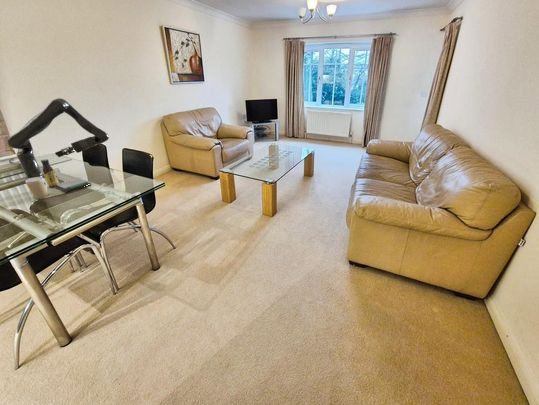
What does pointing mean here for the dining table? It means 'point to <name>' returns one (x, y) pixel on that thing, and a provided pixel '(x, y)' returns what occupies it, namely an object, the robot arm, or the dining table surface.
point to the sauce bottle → (49, 174)
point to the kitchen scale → (72, 185)
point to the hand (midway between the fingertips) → (56, 155)
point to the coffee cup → (37, 187)
